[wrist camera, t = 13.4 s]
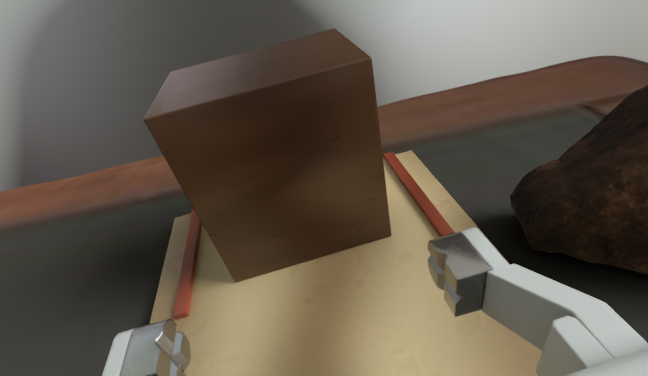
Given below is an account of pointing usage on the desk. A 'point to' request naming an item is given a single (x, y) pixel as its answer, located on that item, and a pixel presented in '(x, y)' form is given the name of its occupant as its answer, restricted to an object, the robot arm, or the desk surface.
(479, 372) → the game board
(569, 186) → the decorative rock
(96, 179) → the desk surface
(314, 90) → the tall rectangular block
